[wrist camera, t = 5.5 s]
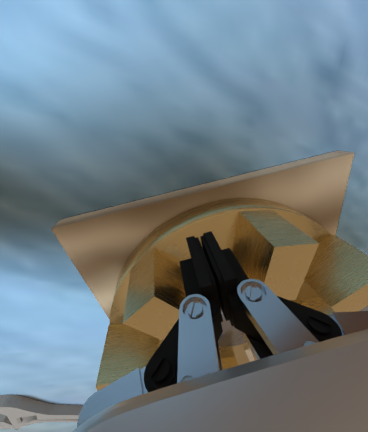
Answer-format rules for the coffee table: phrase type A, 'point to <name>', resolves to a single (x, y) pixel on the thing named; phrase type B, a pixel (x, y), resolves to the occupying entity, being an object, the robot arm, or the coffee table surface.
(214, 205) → the bevel gear
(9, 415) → the adjustable wrench
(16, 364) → the coffee table surface
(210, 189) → the base plate
